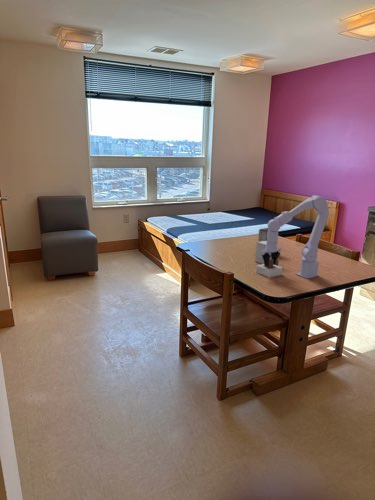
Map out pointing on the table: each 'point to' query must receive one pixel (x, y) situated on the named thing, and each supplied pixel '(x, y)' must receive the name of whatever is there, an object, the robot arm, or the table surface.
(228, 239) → the table surface
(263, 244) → the supplement box
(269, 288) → the table surface
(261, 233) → the coffee box
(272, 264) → the brown rounded cylinder
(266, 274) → the hole block
